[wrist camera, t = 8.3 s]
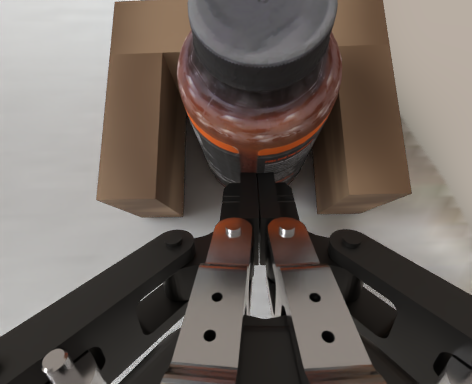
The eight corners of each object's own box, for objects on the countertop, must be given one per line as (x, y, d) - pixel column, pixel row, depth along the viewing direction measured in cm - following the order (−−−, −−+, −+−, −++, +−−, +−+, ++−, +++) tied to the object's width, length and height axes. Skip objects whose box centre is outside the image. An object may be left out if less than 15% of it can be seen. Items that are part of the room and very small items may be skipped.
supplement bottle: (319, 140, 19) (424, -35, 8) (269, 218, 18) (307, 148, 7) (240, 95, 19) (231, -119, 8) (189, 166, 18) (103, 30, 7)
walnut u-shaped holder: (142, 217, 18) (96, 199, 12) (150, 71, 20) (114, 1, 14) (360, 213, 17) (411, 193, 12) (344, 64, 19) (381, -10, 14)
